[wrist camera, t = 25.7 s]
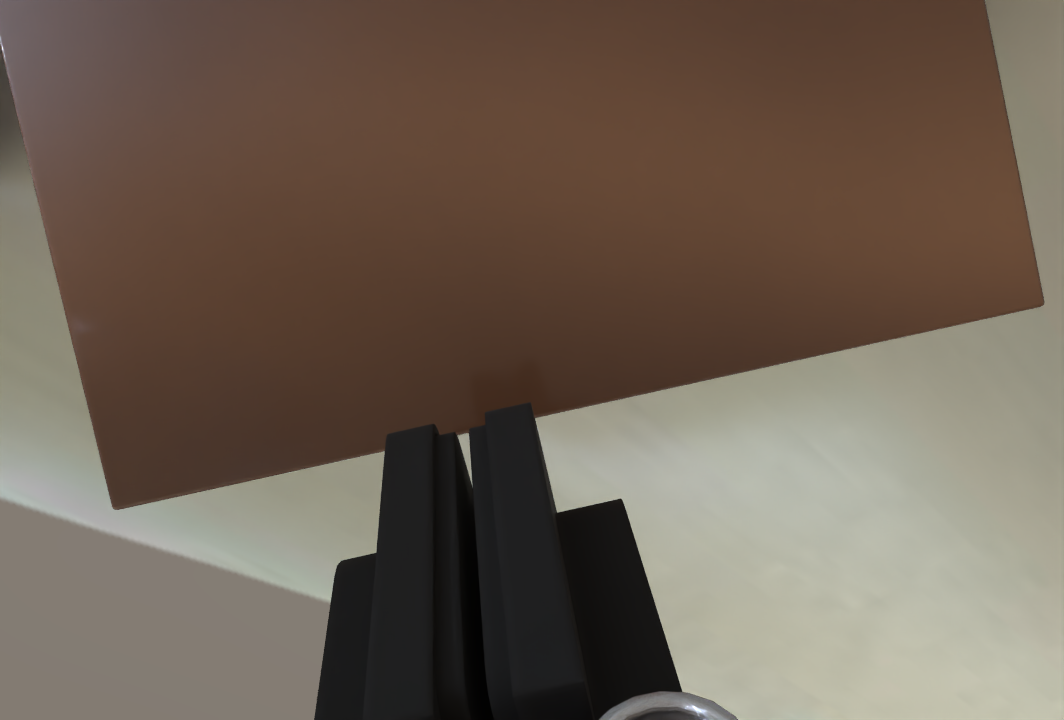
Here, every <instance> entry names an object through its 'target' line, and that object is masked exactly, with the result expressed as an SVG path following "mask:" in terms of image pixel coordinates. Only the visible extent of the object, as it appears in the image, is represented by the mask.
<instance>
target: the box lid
mask: <svg viewBox="0 0 1064 720" xmlns="http://www.w3.org/2000/svg"><path fill="white" fill-rule="evenodd" d="M0 47H1V51H2V56H3V60H4V64H5V68H6V72H7V76H8V80H9V84H10V88H11V93H12V97H13V101H14V105H15V109H16V113H17V117H18V121H19V125H20V130H21V134H22V138H23V142H24V146H25V150H26V154H27V158H28V162H29V167H30V171H31V175H32V179H33V183H34V187H35V191H36V195H37V199H38V204H39V208H40V212H41V216H42V220H43V224H44V228H45V232H46V236H47V241H48V245H49V249H50V253H51V257H52V261H53V265H54V269H55V273H56V278H57V282H58V286H59V290H60V294H61V298H62V302H63V306H64V311H65V315H66V319H67V323H68V327H69V331H70V335H71V339H72V343H73V348H74V352H75V356H76V360H77V364H78V368H79V372H80V376H81V380H82V385H83V389H84V393H85V397H86V401H87V405H88V409H89V413H90V417H91V422H92V426H93V430H94V434H95V438H96V442H97V446H98V450H99V454H100V459H101V463H102V467H103V471H104V475H105V479H106V483H107V487H108V491H109V496H110V500H111V504H112V507H113V509H115V510H119V509H124V508H129V507H133V506H138V505H142V504H147V503H151V502H156V501H160V500H165V499H169V498H174V497H179V496H183V495H188V494H192V493H197V492H201V491H206V490H210V489H215V488H219V487H224V486H229V485H233V484H238V483H242V482H247V481H251V480H256V479H260V478H265V477H269V476H274V475H279V474H283V473H288V472H292V471H297V470H301V469H306V468H310V467H315V466H320V465H324V464H329V463H333V462H338V461H342V460H347V459H351V458H356V457H360V456H365V455H370V454H374V453H379V452H383V451H385V443H386V437H387V434H389V433H393V432H398V431H402V430H407V429H411V428H416V427H420V426H425V425H429V424H435V425H436V427H437V429H438V431H439V434H440V435H442V434H446V433H451V432H455V433H456V434H457V435H460V434H465V433H469V429H470V428H473V427H478V426H482V425H486V424H485V412H487V411H492V410H496V409H501V408H505V407H510V406H514V405H519V404H523V403H528V402H531V405H532V408H533V413H534V417H535V418H538V417H542V416H547V415H551V414H556V413H560V412H565V411H570V410H574V409H579V408H583V407H588V406H592V405H597V404H601V403H606V402H611V401H615V400H620V399H624V398H629V397H633V396H638V395H642V394H647V393H651V392H656V391H661V390H665V389H670V388H674V387H679V386H683V385H688V384H692V383H697V382H701V381H706V380H711V379H715V378H720V377H724V376H729V375H733V374H738V373H742V372H747V371H751V370H756V369H761V368H765V367H770V366H774V365H779V364H783V363H788V362H792V361H797V360H801V359H806V358H811V357H815V356H820V355H824V354H829V353H833V352H838V351H842V350H847V349H851V348H856V347H861V346H865V345H870V344H874V343H879V342H883V341H888V340H892V339H897V338H902V337H906V336H911V335H915V334H920V333H924V332H929V331H933V330H938V329H942V328H947V327H952V326H956V325H961V324H965V323H970V322H974V321H979V320H983V319H988V318H992V317H997V316H1002V315H1006V314H1011V313H1015V312H1020V311H1024V310H1029V309H1033V308H1038V307H1041V306H1043V305H1044V297H1043V292H1042V287H1041V282H1040V277H1039V272H1038V267H1037V262H1036V257H1035V252H1034V247H1033V242H1032V237H1031V231H1030V226H1029V221H1028V216H1027V211H1026V206H1025V201H1024V196H1023V191H1022V186H1021V181H1020V176H1019V171H1018V166H1017V161H1016V156H1015V151H1014V146H1013V141H1012V136H1011V130H1010V125H1009V120H1008V115H1007V110H1006V105H1005V100H1004V95H1003V90H1002V85H1001V80H1000V75H999V70H998V65H997V60H996V55H995V50H994V45H993V40H992V35H991V29H990V24H989V19H988V14H987V9H986V4H985V0H0Z"/></svg>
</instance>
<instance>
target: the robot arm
mask: <svg viewBox="0 0 1064 720" xmlns="http://www.w3.org/2000/svg"><path fill="white" fill-rule="evenodd" d="M485 424H486V425H482V426H478V427H473V428H470V429H469V439H470V454H471V469H472V483H473V488H472V484H471V481H470V477H469V474H468V470H467V467H466V463H465V460H464V457H463V453H462V450H461V446H460V443H459V440H458V437H457V434H456V433H455V432H451V433H446V434H442V435H440V434H439V431H438V429H437V427H436V425H435V424H429V425H425V426H420V427H416V428H411V429H407V430H402V431H398V432H393V433H389V434H387V437H386V443H385V455H384V467H383V480H382V492H381V504H380V516H379V528H378V540H377V552H376V553H374V554H370V555H365V556H361V557H356V558H352V559H347V560H343V561H341V562H340V563H339V564H338V565H337V568H336V572H335V576H334V583H333V591H332V598H331V605H330V612H329V619H328V626H327V633H326V641H325V647H324V654H323V661H322V669H321V676H320V683H319V690H318V697H317V704H316V712H315V718H314V720H738V719H737V718H736V717H735V716H734V715H733V714H731V713H730V712H728V711H727V710H725V709H724V708H722V707H721V706H719V705H718V704H716V703H715V702H713V701H711V700H708V699H705V698H702V697H699V696H696V695H693V694H690V693H685V692H682V689H681V686H680V683H679V679H678V676H677V673H676V670H675V667H674V663H673V660H672V657H671V654H670V651H669V647H668V644H667V641H666V638H665V634H664V631H663V628H662V625H661V622H660V618H659V615H658V612H657V609H656V606H655V602H654V599H653V596H652V593H651V589H650V586H649V583H648V580H647V577H646V573H645V570H644V567H643V564H642V561H641V557H640V554H639V551H638V548H637V545H636V541H635V538H634V535H633V532H632V528H631V525H630V522H629V519H628V516H627V512H626V509H625V506H624V504H623V501H622V499H617V500H613V501H608V502H604V503H599V504H595V505H590V506H586V507H581V508H577V509H572V510H568V511H563V512H559V513H557V511H556V507H555V502H554V498H553V494H552V490H551V485H550V481H549V477H548V472H547V468H546V464H545V460H544V455H543V451H542V447H541V442H540V438H539V434H538V430H537V425H536V421H535V417H534V413H533V408H532V405H531V402H528V403H523V404H519V405H514V406H510V407H505V408H501V409H496V410H492V411H487V412H485Z"/></svg>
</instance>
